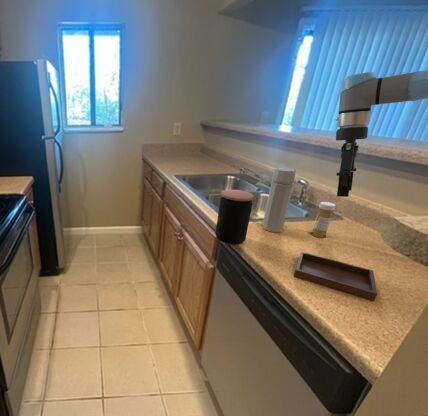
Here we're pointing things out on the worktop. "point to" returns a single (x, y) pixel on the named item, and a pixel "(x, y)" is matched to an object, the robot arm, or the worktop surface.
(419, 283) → the worktop surface
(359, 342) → the worktop surface
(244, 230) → the coffee jar
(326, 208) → the sprinkles bottle
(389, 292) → the worktop surface
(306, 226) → the worktop surface
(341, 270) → the tray
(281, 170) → the grey thermos flask
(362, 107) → the robot arm
